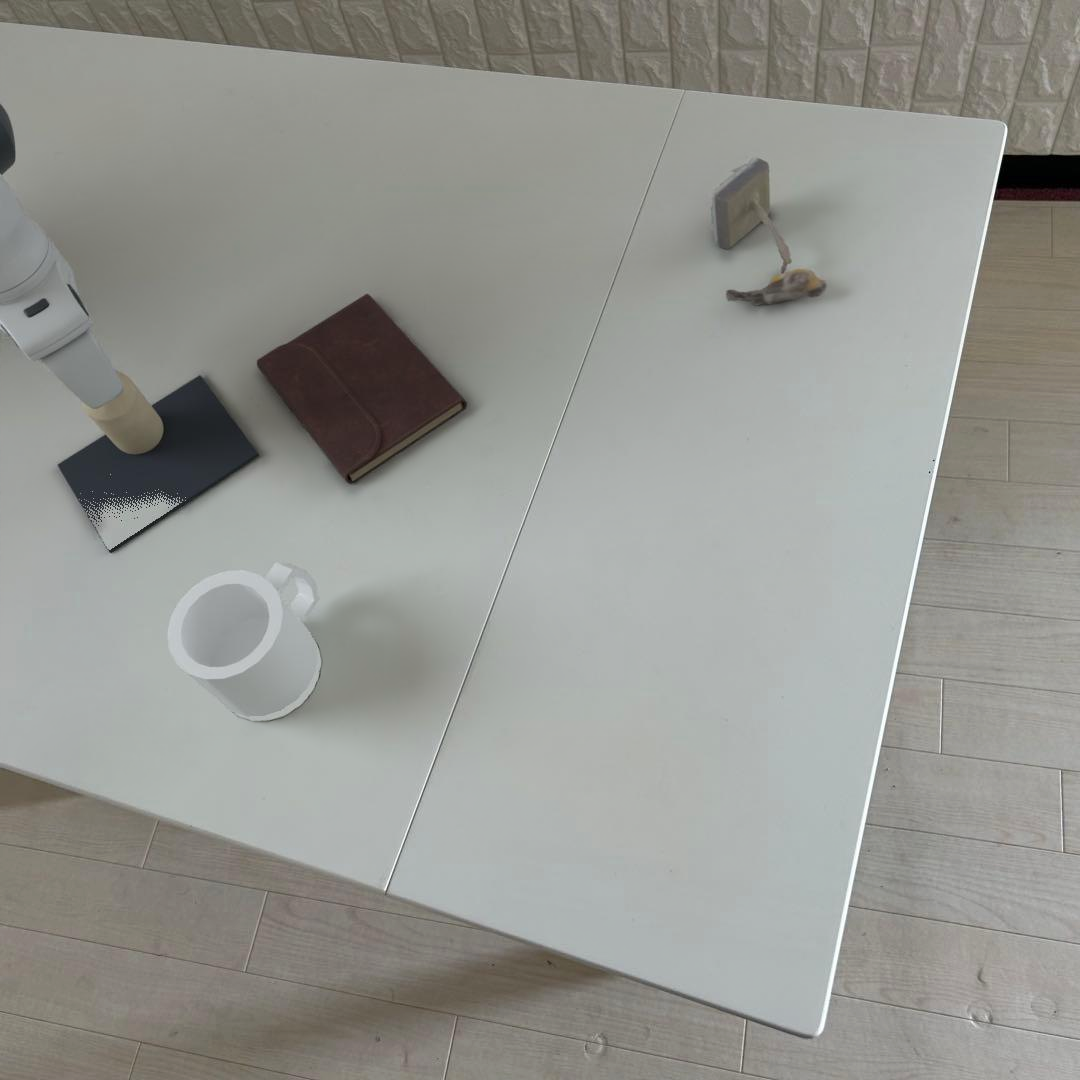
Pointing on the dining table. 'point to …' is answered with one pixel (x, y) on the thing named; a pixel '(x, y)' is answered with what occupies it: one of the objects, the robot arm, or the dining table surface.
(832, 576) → the dining table surface
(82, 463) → the mat
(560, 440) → the dining table surface
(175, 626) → the mug
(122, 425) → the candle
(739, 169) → the decorative sculpture
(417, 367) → the notebook
